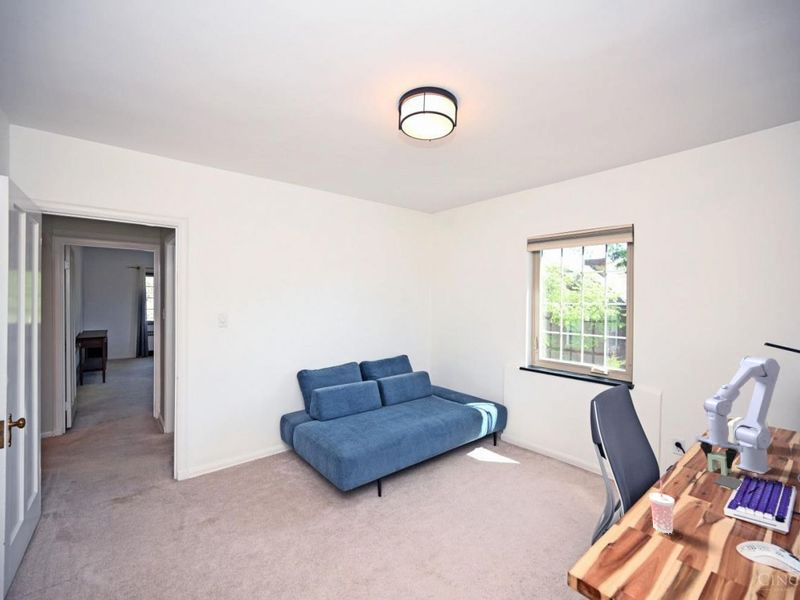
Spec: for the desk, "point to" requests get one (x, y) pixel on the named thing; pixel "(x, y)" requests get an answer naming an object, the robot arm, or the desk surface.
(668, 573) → the desk surface
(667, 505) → the beverage cup
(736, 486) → the felt pad
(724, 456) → the slotted sage cube
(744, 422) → the robot arm
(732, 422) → the cable organizer
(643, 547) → the desk surface
